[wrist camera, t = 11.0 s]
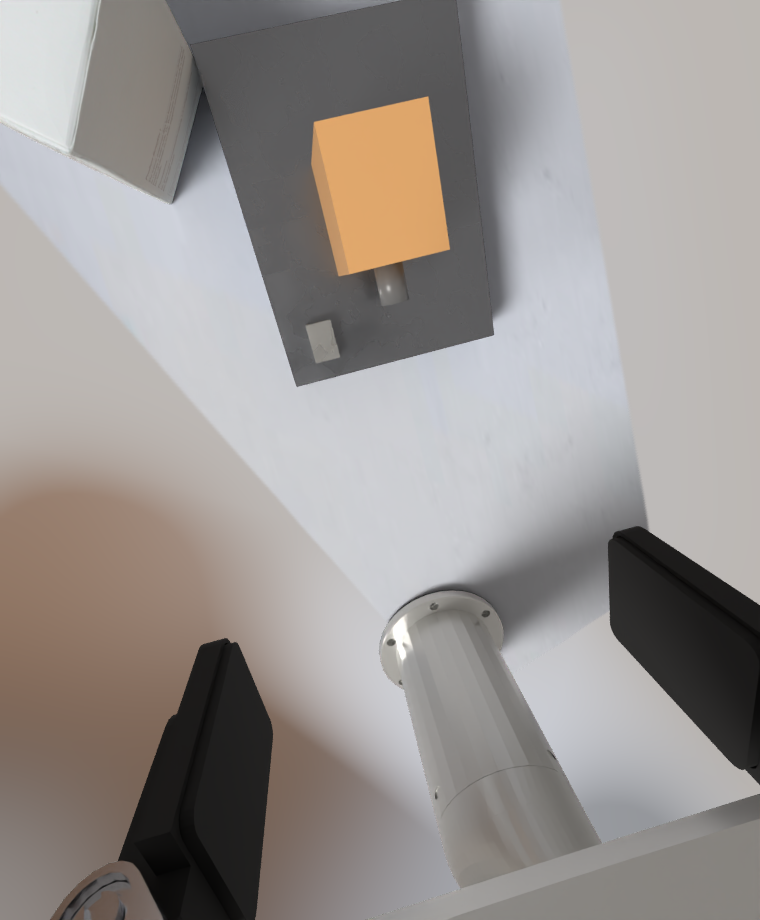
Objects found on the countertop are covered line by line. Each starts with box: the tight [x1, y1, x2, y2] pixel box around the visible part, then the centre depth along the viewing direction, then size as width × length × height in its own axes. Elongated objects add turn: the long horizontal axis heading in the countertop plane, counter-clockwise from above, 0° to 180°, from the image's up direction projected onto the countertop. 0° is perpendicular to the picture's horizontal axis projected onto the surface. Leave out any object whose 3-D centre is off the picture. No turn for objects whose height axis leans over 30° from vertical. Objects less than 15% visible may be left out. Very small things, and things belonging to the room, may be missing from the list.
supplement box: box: [0, 0, 203, 204], centre depth 19 cm, size 7×7×13 cm
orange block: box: [311, 97, 450, 306], centre depth 24 cm, size 8×5×9 cm, turn 13°
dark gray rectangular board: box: [191, 0, 494, 387], centre depth 27 cm, size 18×14×4 cm
